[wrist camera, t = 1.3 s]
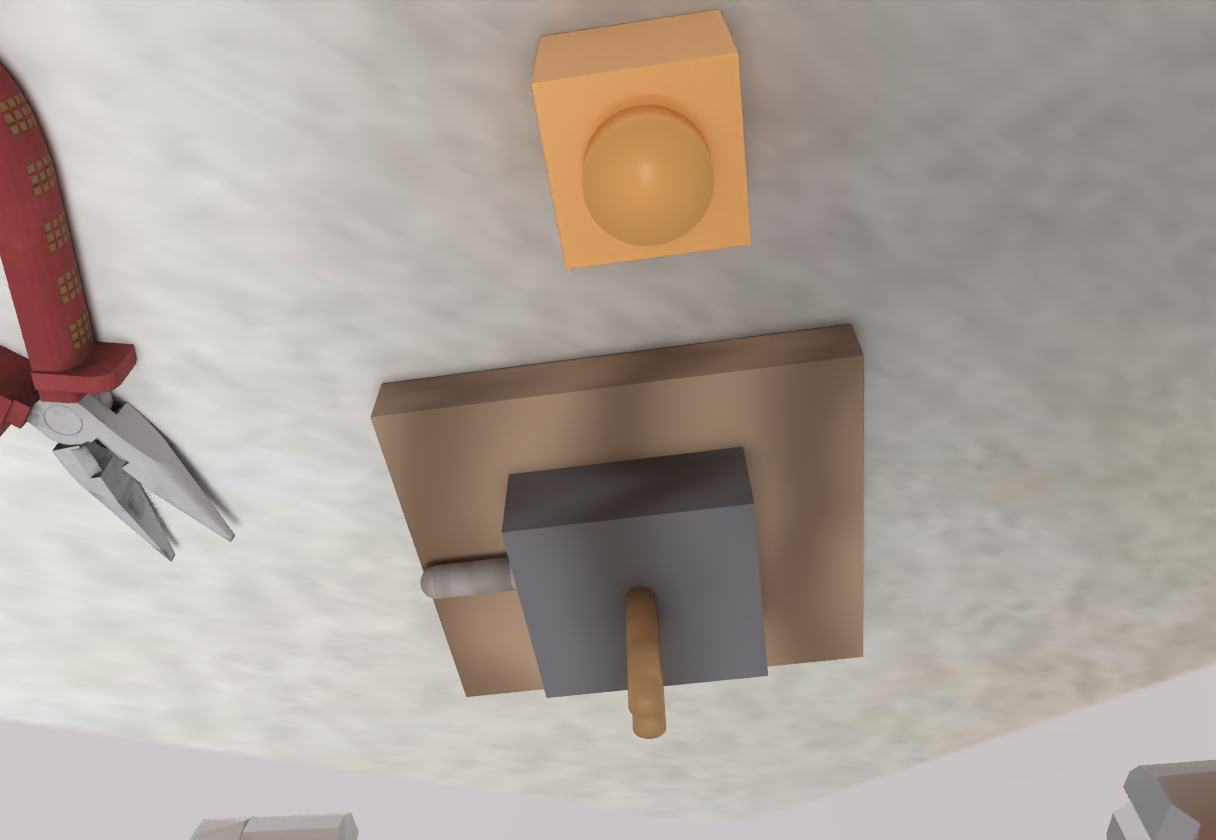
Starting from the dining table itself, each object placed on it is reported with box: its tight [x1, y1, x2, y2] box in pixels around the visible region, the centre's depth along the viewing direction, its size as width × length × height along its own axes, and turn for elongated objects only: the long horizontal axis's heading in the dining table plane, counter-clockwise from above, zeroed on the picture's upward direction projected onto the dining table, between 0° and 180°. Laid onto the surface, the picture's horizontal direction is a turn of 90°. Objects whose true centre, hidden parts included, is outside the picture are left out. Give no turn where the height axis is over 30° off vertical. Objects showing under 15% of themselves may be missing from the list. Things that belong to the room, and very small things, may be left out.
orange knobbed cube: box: [531, 9, 751, 270], centre depth 26 cm, size 5×5×6 cm
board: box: [371, 324, 864, 739], centre depth 34 cm, size 16×14×10 cm
